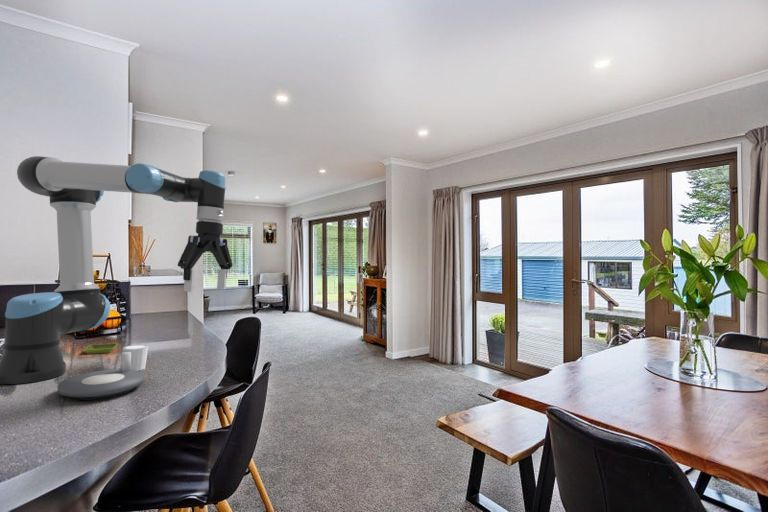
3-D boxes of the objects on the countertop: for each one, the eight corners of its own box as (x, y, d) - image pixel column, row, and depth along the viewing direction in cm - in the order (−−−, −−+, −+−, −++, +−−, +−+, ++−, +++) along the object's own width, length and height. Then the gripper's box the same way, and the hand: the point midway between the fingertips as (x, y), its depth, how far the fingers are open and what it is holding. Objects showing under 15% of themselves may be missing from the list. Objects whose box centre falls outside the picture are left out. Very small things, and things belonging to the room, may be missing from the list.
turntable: (37, 394, 90) (38, 367, 90) (99, 372, 108) (100, 350, 108) (107, 399, 89) (109, 371, 89) (158, 376, 106) (160, 353, 107)
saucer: (82, 355, 132) (82, 350, 132) (90, 350, 140) (90, 344, 140) (112, 354, 135) (112, 348, 135) (118, 348, 143) (118, 343, 143)
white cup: (138, 372, 114) (139, 349, 114) (115, 371, 114) (117, 348, 114) (152, 366, 121) (153, 344, 121) (131, 365, 121) (132, 343, 121)
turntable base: (56, 397, 92) (56, 392, 92) (100, 381, 105) (100, 376, 105) (106, 401, 91) (106, 395, 91) (144, 384, 104) (144, 379, 104)
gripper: (188, 216, 103) (183, 293, 103) (246, 226, 127) (242, 289, 126) (166, 216, 105) (161, 291, 105) (227, 225, 129) (223, 287, 129)
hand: (205, 290), depth 116 cm, fingers open, 13 cm apart
